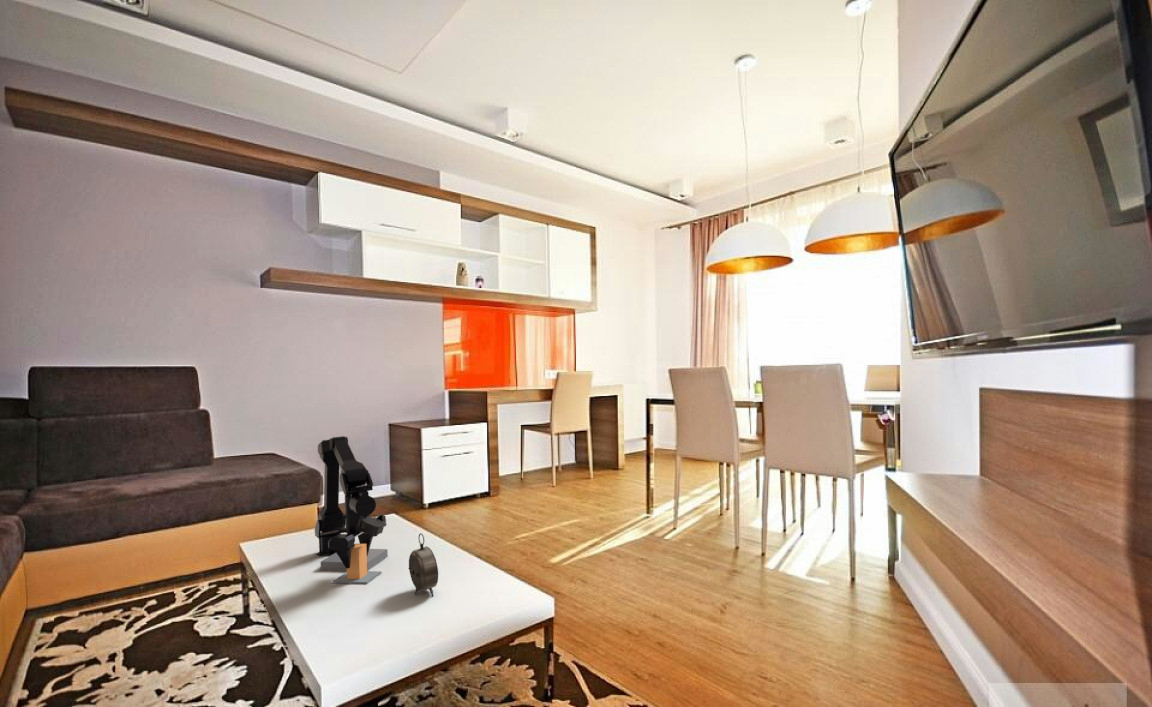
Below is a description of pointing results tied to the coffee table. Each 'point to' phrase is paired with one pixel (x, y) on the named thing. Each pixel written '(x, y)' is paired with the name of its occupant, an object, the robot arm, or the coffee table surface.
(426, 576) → the alarm clock
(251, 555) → the coffee table surface
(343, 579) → the mat
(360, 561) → the orange block
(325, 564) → the holder
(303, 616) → the coffee table surface
